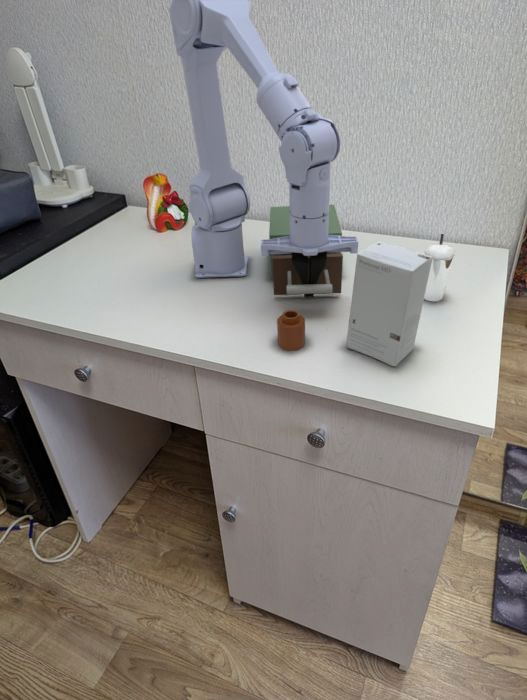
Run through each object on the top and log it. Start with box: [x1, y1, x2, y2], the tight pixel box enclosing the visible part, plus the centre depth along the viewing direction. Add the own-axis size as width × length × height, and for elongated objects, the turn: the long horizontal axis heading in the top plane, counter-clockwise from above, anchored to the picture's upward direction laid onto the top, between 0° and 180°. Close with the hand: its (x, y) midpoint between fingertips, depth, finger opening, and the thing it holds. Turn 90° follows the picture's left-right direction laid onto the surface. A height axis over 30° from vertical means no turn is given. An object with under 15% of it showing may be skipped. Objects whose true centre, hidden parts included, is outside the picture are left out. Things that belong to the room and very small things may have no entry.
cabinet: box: [268, 204, 343, 281], centre depth 94 cm, size 15×13×9 cm
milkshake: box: [424, 232, 456, 303], centre depth 80 cm, size 4×5×10 cm
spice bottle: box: [276, 309, 306, 352], centre depth 72 cm, size 4×4×5 cm
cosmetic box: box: [346, 240, 432, 367], centre depth 67 cm, size 8×6×15 cm
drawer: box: [272, 252, 344, 296], centre depth 84 cm, size 20×11×7 cm, turn 179°
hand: (308, 294), depth 79 cm, fingers closed, pressing on drawer
